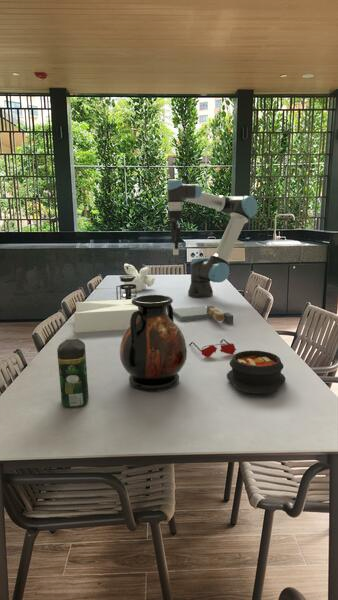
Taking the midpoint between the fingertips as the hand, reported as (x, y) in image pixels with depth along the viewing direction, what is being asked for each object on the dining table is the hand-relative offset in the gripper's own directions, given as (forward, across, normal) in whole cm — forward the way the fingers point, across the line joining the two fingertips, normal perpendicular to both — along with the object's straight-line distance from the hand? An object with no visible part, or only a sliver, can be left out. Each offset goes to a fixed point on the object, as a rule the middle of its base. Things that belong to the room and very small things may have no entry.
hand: (175, 254), depth 239 cm
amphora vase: (+29, +97, -39) cm, 108 cm away
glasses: (+29, +74, -9) cm, 80 cm away
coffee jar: (+29, +103, -65) cm, 125 cm away
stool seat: (+28, +24, +1) cm, 37 cm away
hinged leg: (+26, +38, +7) cm, 46 cm away
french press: (+29, -7, -26) cm, 39 cm away
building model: (+29, +24, -35) cm, 51 cm away
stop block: (+28, +41, +12) cm, 51 cm away
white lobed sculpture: (+29, -52, -9) cm, 60 cm away
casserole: (+29, +108, -8) cm, 112 cm away
